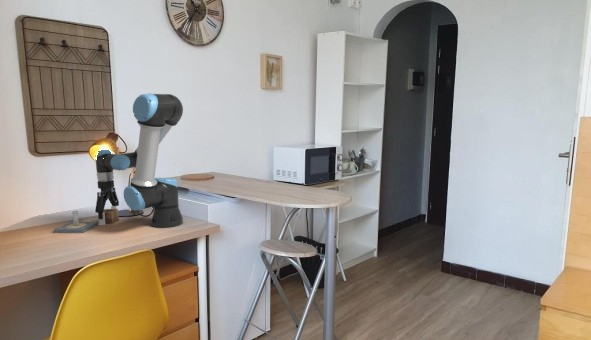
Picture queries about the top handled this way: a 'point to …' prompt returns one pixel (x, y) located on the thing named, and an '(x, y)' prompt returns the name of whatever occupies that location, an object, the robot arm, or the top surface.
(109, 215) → the collar
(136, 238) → the top surface
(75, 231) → the post block
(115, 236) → the top surface
